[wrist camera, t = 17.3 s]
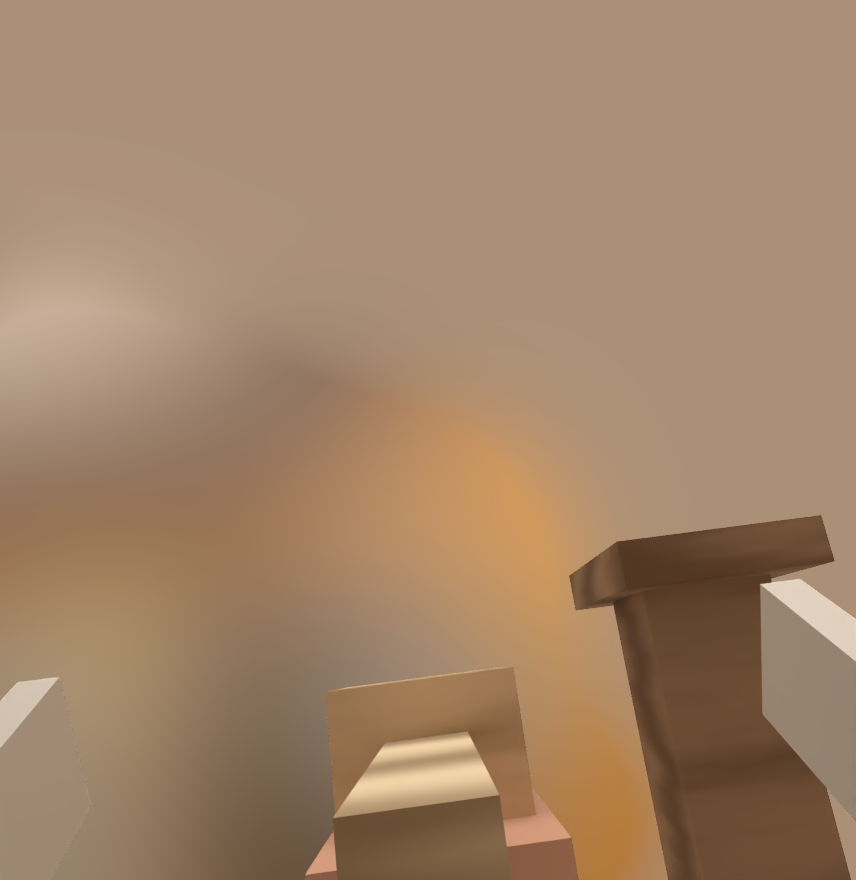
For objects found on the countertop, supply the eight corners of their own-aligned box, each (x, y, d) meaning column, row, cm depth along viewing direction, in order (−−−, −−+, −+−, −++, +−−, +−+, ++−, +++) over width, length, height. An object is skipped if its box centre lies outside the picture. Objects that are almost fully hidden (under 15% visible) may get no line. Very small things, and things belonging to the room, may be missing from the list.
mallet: (355, 810, 31) (345, 688, 33) (517, 788, 31) (499, 667, 33) (226, 1035, 12) (215, 714, 13) (645, 974, 12) (588, 664, 14)
